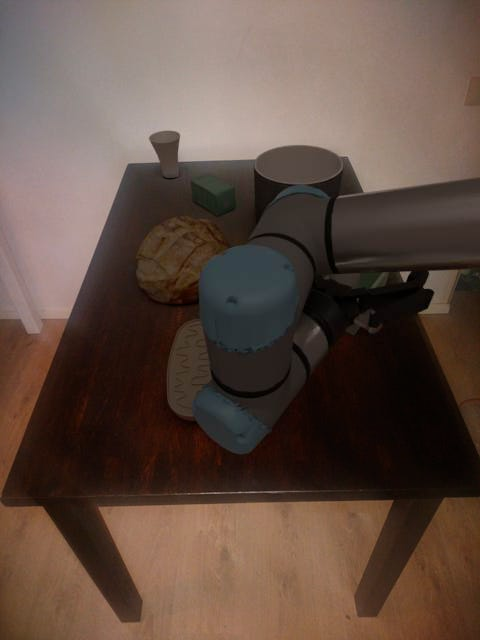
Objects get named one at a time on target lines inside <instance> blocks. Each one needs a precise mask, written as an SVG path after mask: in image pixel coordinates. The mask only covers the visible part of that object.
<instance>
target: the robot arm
mask: <svg viewBox="0 0 480 640" xmlns="http://www.w3.org/2000/svg"><path fill="white" fill-rule="evenodd" d="M465 270H467V271H468V270H480V176H478V177H469V178H463V179H457V180H455V179H454V180H448V181H440V182H434V183H426V184H418V185H410V186H403V187H397V188H388V189H381V190H375V191H373V190H372V191H367V192H357V193H351V194H344V195H339V196H335V197H329V196H328V195H327V194H325V193H324V192H323V191H321V190H320V189H316V188H314V187H311V186H308V185H295V186H292V187H289V188H287V189H285V190H283V191H282V192H281V193H280V194H279V195H278V196H277V197H276V198H275V199H274V201H273V202H271V203H270V204H269V205H268V207H267V208H266V209H265V211H264V212H263V214H262V216H261V218H260V221H259V223H258V224H257V226H256V225H255V228H254V229H253V231H252V233H251V235H249V238H248V239H247V241H246V243H245V244H244V245H243V244H242V245H236V246H232V247H231V248H229V249H226V250H225V251H224V252H223V254H222V255H220V256H215V257H212V258H211V259H210V260H209V261H208V262H207V263H206V264H205V266H204V267H203V269H202V271H201V274H200V277H199V282H198V288H199V300H200V301H199V302H198V306H199V311H198V315H199V319H201V320H200V322H201V324H202V327H203V331H204V336H205V341H206V346H207V351H208V356H209V361H210V371H211V377H212V378H211V381H210V382H208V383H207V384H206V385H204V386H203V387H202V389H201V391H200V392H199V393H198V395H197V396H196V397H195V399H194V400H193V403H192V413H193V416H194V418H195V419H196V421H195V422H196V423H197V425H198V426H199V427H200V428H201V429H202V431H203V432H204V433H205V434H206V435H207V436H208V437H209V438H210V439H211V440H213V442H215V443H216V444H217V445H219V446H220V447H222V448H223V449H225V450H226V451H229V452H230V453H234V454H237V455H246V454H249V453H251V452H252V451H254V449H255V448H256V447H257V446H258V445H259V444H260V443H261V441H262V440H263V439H265V437H266V436H267V435H268V434H270V433H271V432H272V430H273V429H272V428H273V426H274V425H275V424H276V423H277V422H278V420H279V418H280V417H281V416H282V415H283V413H284V412H285V410H286V409H287V408H288V406H289V405H290V404H291V403H292V401H293V400H294V399H295V397H296V396H297V395H298V394H299V392H300V390H301V389H302V388H303V387H304V385H305V384H306V383H307V381H308V380H309V379H310V377H311V376H312V375H313V373H314V372H315V371H316V369H317V368H318V367H319V366H320V365H321V363H322V362H323V360H324V359H325V358H326V357H327V355H328V353H329V352H330V351H331V350H332V349H333V348H334V347H335V345H336V343H337V342H338V341H339V340H340V339H341V337H342V336H343V335H344V333H346V332H345V330H346V329H347V328H348V327H349V326H351V325H354V324H356V325H358V326H360V328H362V329H363V330H365V336H366V337H367V338H370V339H373V338H375V337H377V335H378V334H379V333H380V332H381V331H382V330H384V329H386V328H387V327H391V326H393V325H394V324H396V323H397V324H398V323H399V322H401V321H403V320H405V319H408V318H410V317H413V316H415V315H417V314H420V313H421V312H422V313H423V312H424V311H426V310H428V309H429V307H430V305H431V303H432V300H433V298H434V295H435V291H434V290H433V289H431V288H424V287H425V285H426V283H427V281H428V279H429V275H430V272H434V271H436V272H437V271H438V272H439V271H465ZM381 272H389V273H404V272H405V273H406V272H410V273H408V275H407V277H406V281H403V282H398V283H393V284H388V285H387V284H386V285H385V286H382V287H376V288H371V289H367V288H366V287H361V288H356V289H352V287H350V286H348V285H344V284H340V283H338V282H337V281H335V280H333V279H330V278H329V279H323V276H322V275H332V274H351V273H381ZM357 298H359V300H358V301H357ZM369 309H373V310H372V311H371V312H370V313H368V314H366V315H363V313H365V312H366V311H367V310H369ZM374 309H377V310H374Z"/></svg>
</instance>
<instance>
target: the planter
mask: <svg viewBox="0 0 480 640" xmlns="http://www.w3.org/2000/svg"><path fill="white" fill-rule="evenodd" d="M344 163H345V162H344V160H343V159H342V158H341V156H340V155H339V154H337V153H335V152H334V151H332V150H330V149H327V148H324V147H320V146H315V145H307V144H291V145H290V144H289V145H283V146H277V147H273V148H271V149H268V150H265V151H263V152H262V153H261V154H259V155H258V156H257V157H256V158H255V159H254V162H253V182H254V183H253V185H254V186H253V187H254V188H253V189H254V216H255V217H254V219H255V227H256V226H257V224H258V223H259V221H260V218H261V216H262V214H263V212H264V211H265V209H266V208H267V207H268V205H269V204H270V203H271V202H273V201H274V199H275V198H276V197H277V196H278V195H279V194H280V193H281V192H282V191H283V190H285V189H287V188H289V187H292V186H295V185H308V186H311V187H314V188H316V189H320V190H321V191H323V192H324V193H325V194H327V195H328V196H329V197H335V196H340V192H341V186H342V181H343V180H342V178H343V173H344V168H345V167H344V166H345V164H344Z"/></svg>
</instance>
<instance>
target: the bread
mask: <svg viewBox="0 0 480 640" xmlns="http://www.w3.org/2000/svg"><path fill="white" fill-rule="evenodd" d="M229 248H232V247H231V245H230V243H229V240H228V238H227V237H226V236H225V234H224V233H223V231H220V229H219V227H218V226H217V225H216V224H215V223H214V222H213V221H212V220H210V219H206V218H193V217H192V216H189V215H188V214H184V215H180V216H175V217H172V218H169V219H167V220H164V221H162V222H161V223H157V225H155V226H154V227H153V228H152V229H151V231H150V232H149V233H148V234H147V235H146V236H145V238H144V239H143V240H142V242H141V244H140V246H139V248H138V250H137V251H136V253H135V257H134V259H135V264H136V266H137V269H136V270H135V271H136V272H135V275H136V279H137V282H138V285H139V287H140V288H141V289H143V291H144V292H145V293H146V294H147V297H148V298H149V299H151V300H153V301H155V302H157V303H159V304H167V305H187V304H192V303H199V301H200V300H199V288H198V282H199V277H200V274H201V271H202V269H203V267H204V266H205V264H206V263H207V262H208V261H209V260H210V259H211V258H212V257H215V256H220V255H222V254H223V252H224V251H225V250H226V249H229Z"/></svg>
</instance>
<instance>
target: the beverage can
mask: <svg viewBox="0 0 480 640" xmlns="http://www.w3.org/2000/svg"><path fill="white" fill-rule="evenodd" d="M360 274H361V273H351V274H332V275H329V278H330V279H333V280H335V281H337V282H338V283H340V284H344V285H348V286H350V287H352V289H356V288H357V287H358V282H359V278H360Z"/></svg>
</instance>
